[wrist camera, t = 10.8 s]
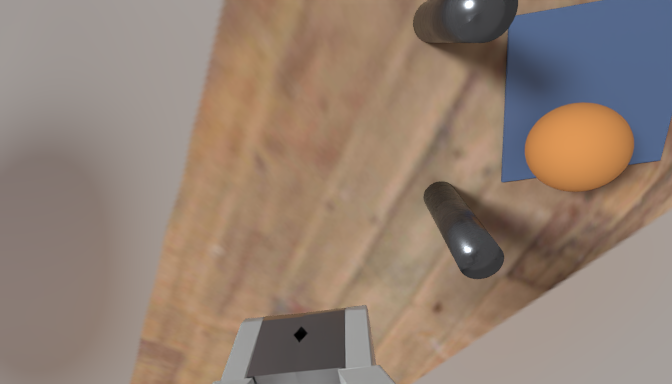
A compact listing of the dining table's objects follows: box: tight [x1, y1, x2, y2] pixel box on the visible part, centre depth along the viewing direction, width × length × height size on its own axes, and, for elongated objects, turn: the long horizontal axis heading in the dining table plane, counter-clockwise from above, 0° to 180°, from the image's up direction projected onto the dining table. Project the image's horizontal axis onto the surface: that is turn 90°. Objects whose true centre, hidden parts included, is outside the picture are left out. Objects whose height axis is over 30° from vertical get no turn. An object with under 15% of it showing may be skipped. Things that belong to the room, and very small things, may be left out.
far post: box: [424, 182, 504, 279], centre depth 23 cm, size 3×3×9 cm
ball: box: [525, 102, 634, 192], centre depth 23 cm, size 6×6×6 cm
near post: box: [413, 0, 518, 43], centre depth 18 cm, size 3×3×9 cm
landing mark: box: [501, 0, 672, 182], centre depth 24 cm, size 12×12×1 cm
